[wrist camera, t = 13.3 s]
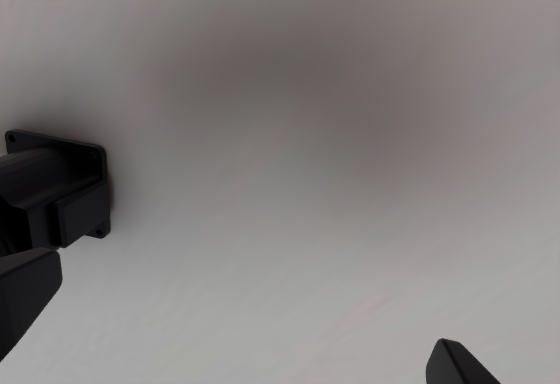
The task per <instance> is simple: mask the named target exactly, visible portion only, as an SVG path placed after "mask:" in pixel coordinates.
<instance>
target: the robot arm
mask: <svg viewBox="0 0 560 384" xmlns="http://www.w3.org/2000/svg"><path fill="white" fill-rule="evenodd" d="M14 137H15V138H16V139H15V138H14ZM5 141H6V147H7V153H8V154H7V155H4V156H1V157H0V362H1V361H2V360H3V359H4V358H5V357H6V355H7V354H8V353H9V352H10V351H11V350H12V349H13V347H14V346H15V345H16V344H17V343H18V342H19V340H20V339H21V338H22V337H23V335H24V334H25V333H26V331H27V330H28V329H29V328H30V326H31V325H32V324H33V322H34V321H35V320H36V318H37V317H38V316H39V314H40V313H41V312H42V310H43V309H44V308H45V307H46V305H47V304H48V303H49V301H50V300H51V299H52V297H53V296H54V295H55V293H56V292H57V291H58V290H59V288H60V286H61V284H62V279H63V277H62V268H61V260H60V254H59V253H58V252H57V251H56V250H58V249H59V248H60V247H61V248H67V247H68V246H69V245H71V244H72V243H73V242H75V241H76V240H78V239H79V238H80V237H82V236H83V235H86V236H91V237H95V238H100V239H102V238H104V237H106V236H107V235H108V234H109V231H110V229H109V216H110V211H109V191H108V182H107V171H106V154H105V151H104V149H103V148H102V147H100V146H98V145H93V144H88V143H83V142H77V141H72V140H67V139H62V138H57V137H52V136H47V135H42V134H37V133H32V132H27V131H21V130H10V131H7V132H6V133H5ZM94 151H95V152H96V153H97V154H98V157H97V156H96V155H95V153H94ZM100 230H101V231H102V232H101V231H100ZM426 383H427V384H501V383H500V382H499V381H498V380H497V379H496V378H495V377H494V376H493V375H492V374H491V373H490V372H489V371H488V370H487V369H486V368H485V367H484V366H483V365H482V364H481V363H480V362H479V361H478V360H477V359H476V358H475V357H474V356H473V355H472V354H471V353H470V352H469V351H468V350H467V349H466V348H465V347H464V346H463V345H462V344H461V343H459V342H457V341H453V340H448V339H444V338H442V339H439V340H438V341H437V343H436V345H435V347H434V349H433V351H432V354H431V356H430V358H429V360H428V363H427V366H426Z"/></svg>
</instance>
